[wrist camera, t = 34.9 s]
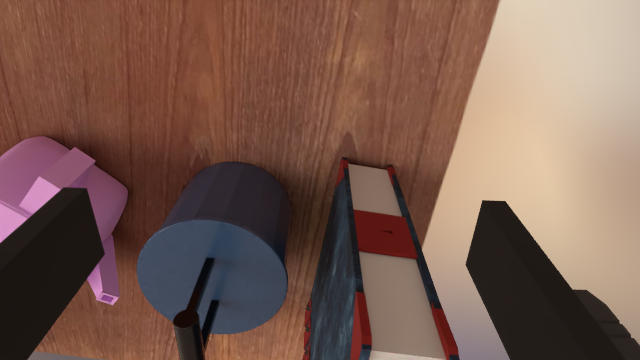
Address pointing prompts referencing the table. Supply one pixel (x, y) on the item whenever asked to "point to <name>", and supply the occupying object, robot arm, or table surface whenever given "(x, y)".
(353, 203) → the book
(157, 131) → the table surface
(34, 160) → the teakettle
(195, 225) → the lid
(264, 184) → the pot
